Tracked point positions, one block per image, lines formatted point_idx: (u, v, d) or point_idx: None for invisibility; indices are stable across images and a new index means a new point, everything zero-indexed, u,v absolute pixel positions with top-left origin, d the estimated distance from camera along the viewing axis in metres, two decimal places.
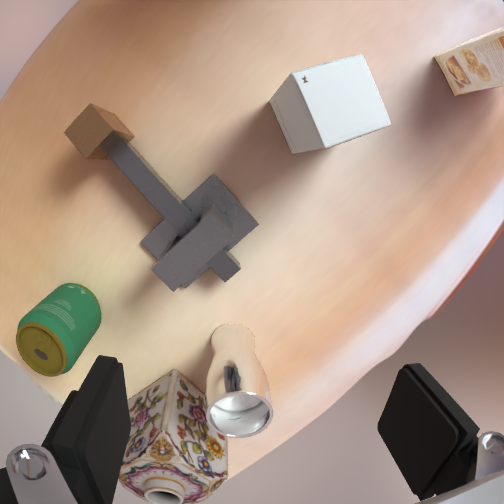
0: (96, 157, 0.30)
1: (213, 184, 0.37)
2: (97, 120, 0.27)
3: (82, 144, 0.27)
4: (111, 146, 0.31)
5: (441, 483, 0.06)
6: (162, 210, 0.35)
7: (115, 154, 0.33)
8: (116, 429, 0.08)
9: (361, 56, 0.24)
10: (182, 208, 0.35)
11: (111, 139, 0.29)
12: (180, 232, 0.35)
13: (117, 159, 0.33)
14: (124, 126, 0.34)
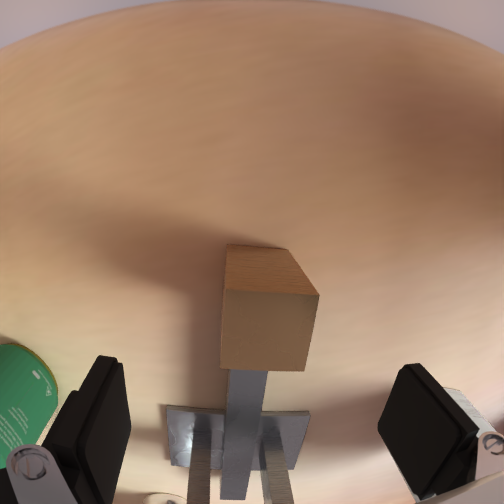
0: None
1: (298, 423, 0.25)
2: (298, 335, 0.14)
3: (237, 345, 0.14)
4: None
5: (441, 483, 0.06)
6: (231, 430, 0.21)
7: None
8: (116, 429, 0.08)
9: None
10: (253, 442, 0.22)
11: None
12: (226, 455, 0.22)
13: None
14: None
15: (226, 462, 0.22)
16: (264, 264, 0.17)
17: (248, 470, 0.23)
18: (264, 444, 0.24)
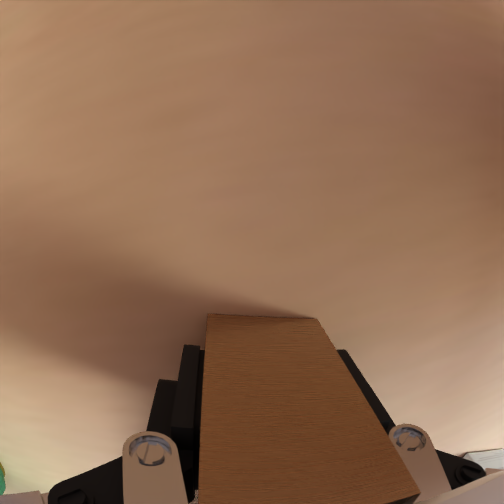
0: None
1: None
2: None
3: None
4: None
5: None
6: None
7: None
8: None
9: None
10: None
11: None
12: None
13: None
14: None
15: None
16: (284, 383, 0.08)
17: None
18: None
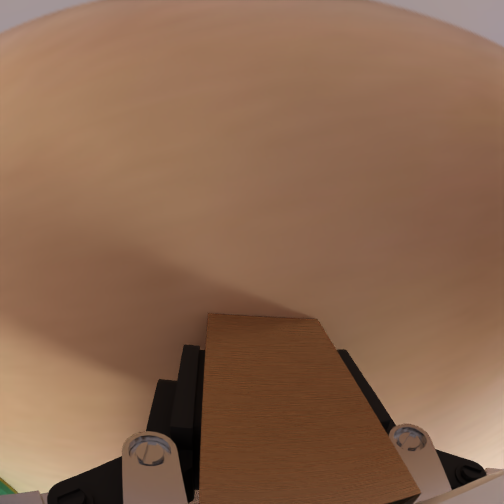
0: None
1: None
2: None
3: None
4: None
5: None
6: None
7: None
8: None
9: None
10: None
11: None
12: None
13: None
14: None
15: None
16: (285, 383, 0.08)
17: None
18: None
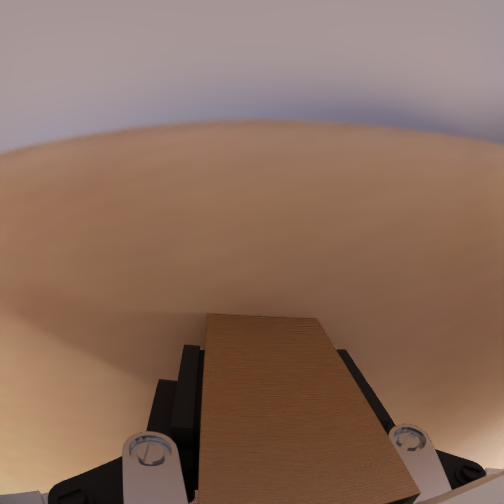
0: None
1: None
2: None
3: None
4: None
5: None
6: None
7: None
8: None
9: None
10: None
11: None
12: None
13: None
14: None
15: None
16: (284, 382, 0.08)
17: None
18: None
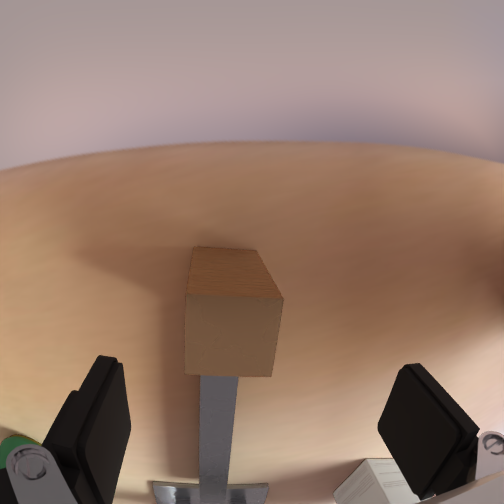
0: None
1: (259, 492, 0.27)
2: (263, 340, 0.14)
3: (200, 351, 0.14)
4: None
5: (441, 483, 0.06)
6: (205, 434, 0.21)
7: None
8: (116, 429, 0.08)
9: None
10: (228, 446, 0.21)
11: None
12: (202, 459, 0.21)
13: None
14: None
15: (202, 466, 0.22)
16: (229, 267, 0.17)
17: (225, 474, 0.22)
18: None
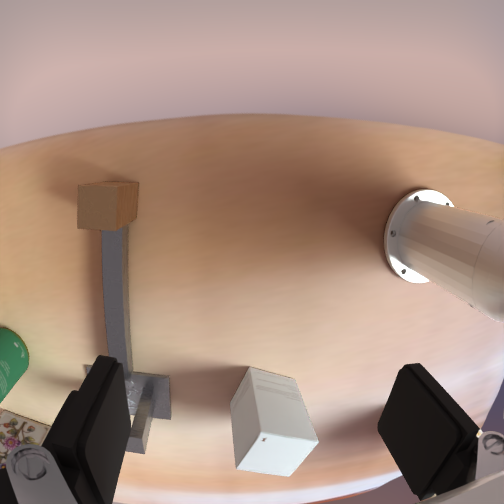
0: None
1: (162, 383, 0.40)
2: (110, 208, 0.27)
3: (83, 214, 0.27)
4: None
5: (441, 483, 0.06)
6: (107, 301, 0.34)
7: None
8: (116, 429, 0.08)
9: (316, 443, 0.31)
10: (122, 313, 0.35)
11: None
12: (107, 325, 0.35)
13: (105, 233, 0.32)
14: (136, 204, 0.34)
15: (108, 333, 0.35)
16: (111, 183, 0.30)
17: (124, 343, 0.36)
18: (141, 394, 0.39)
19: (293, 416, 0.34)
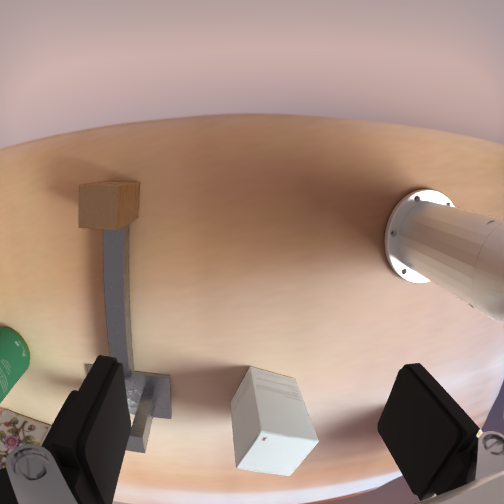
0: None
1: (163, 382, 0.40)
2: (111, 208, 0.27)
3: (85, 214, 0.27)
4: None
5: (441, 483, 0.06)
6: (108, 300, 0.34)
7: None
8: (116, 429, 0.08)
9: (316, 442, 0.31)
10: (123, 313, 0.35)
11: None
12: (108, 324, 0.35)
13: (107, 232, 0.32)
14: (137, 203, 0.34)
15: (109, 332, 0.35)
16: (112, 183, 0.30)
17: (125, 343, 0.36)
18: (142, 393, 0.39)
19: (293, 415, 0.34)
